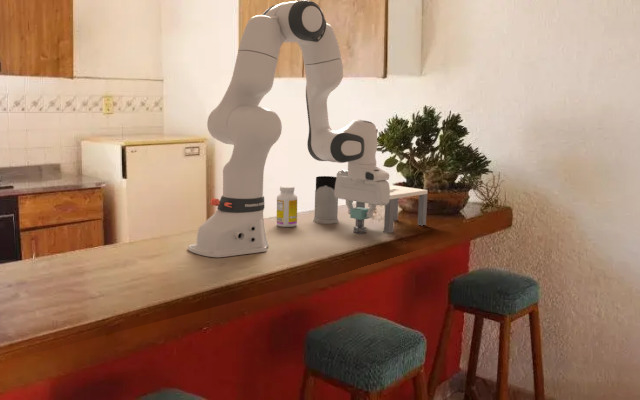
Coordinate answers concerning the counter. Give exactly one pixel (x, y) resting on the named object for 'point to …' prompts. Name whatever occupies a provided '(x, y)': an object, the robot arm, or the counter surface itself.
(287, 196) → the supplement bottle
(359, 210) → the keyhole peg
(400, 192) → the keyhole bracket
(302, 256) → the counter surface
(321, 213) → the glass holder
